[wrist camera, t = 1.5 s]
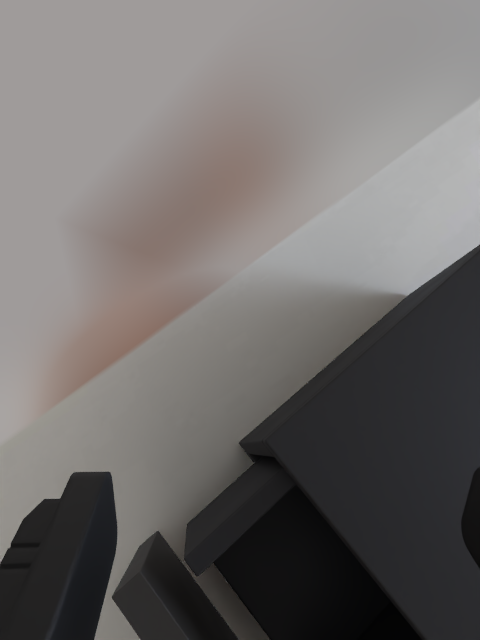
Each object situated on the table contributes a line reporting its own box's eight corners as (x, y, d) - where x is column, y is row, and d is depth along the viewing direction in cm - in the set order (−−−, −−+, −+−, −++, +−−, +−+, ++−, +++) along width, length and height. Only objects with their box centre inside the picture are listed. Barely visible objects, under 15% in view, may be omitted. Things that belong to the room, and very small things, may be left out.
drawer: (221, 824, 19) (237, 1058, 12) (72, 605, 21) (6, 691, 14) (468, 541, 24) (593, 585, 16) (328, 379, 26) (384, 351, 18)
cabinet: (390, 634, 23) (521, 758, 14) (238, 442, 25) (264, 440, 16) (553, 448, 27) (740, 449, 18) (409, 294, 29) (510, 222, 19)
